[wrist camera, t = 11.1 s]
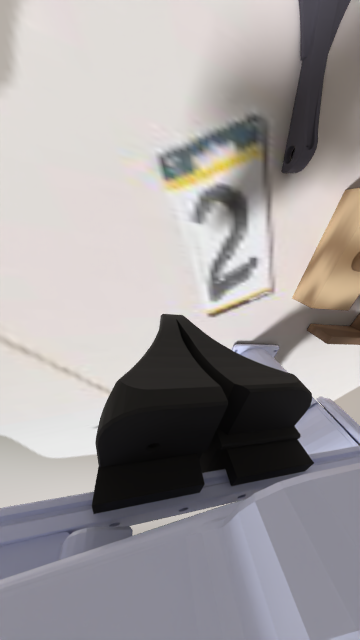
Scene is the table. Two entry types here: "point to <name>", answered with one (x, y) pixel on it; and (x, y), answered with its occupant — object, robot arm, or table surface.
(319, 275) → the wooden box with knob
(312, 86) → the bracket
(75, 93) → the table surface
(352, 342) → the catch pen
